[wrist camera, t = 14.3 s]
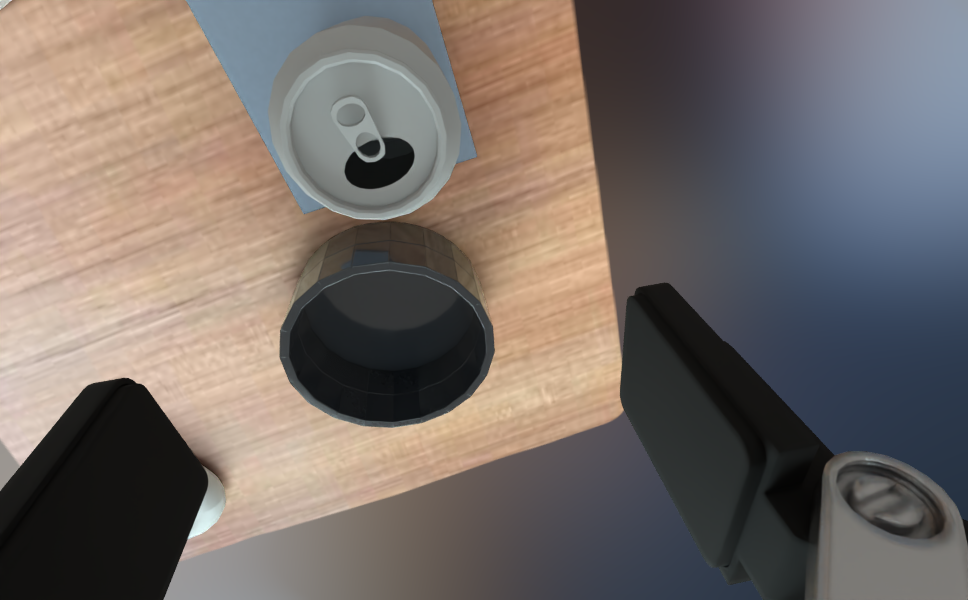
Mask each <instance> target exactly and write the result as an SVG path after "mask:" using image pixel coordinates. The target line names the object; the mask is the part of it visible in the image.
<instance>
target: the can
mask: <svg viewBox="0 0 968 600" xmlns="http://www.w3.org/2000/svg"><path fill="white" fill-rule="evenodd" d="M268 116H269V123H270V130H271V136H272V143H273V145H274V147H275V149H276V151H277V153H278V155H279V158H280V160H281V162H282V164H283V166H284V168H285V170H286V172H287V173H288V174H289V175H290V176H291V177H292V179H293V180H294V181H295V182H296V183H297V184H298V185H299V187H300V188H301V189H302V190H303V191H304V192H305V193H306V194H307V195H308V196H310V197H311V198H313V199H314V200H316V201H317V202H319V203H320V204H322V205H324V206H325V207H327V208H328V209H330V210H331V211H333V212H337V213H340V214H343V215H346V216H349V217H352V218H355V219H372V220H387V219H391V218H394V217H398V216H402V215H405V214H409V213H412V212H413V211H415V210H416V209H418V208H419V207H421V206H423V205H424V204H426V203H427V202H429V201H430V200H432V199H433V198H434V197H435V196H436V194H437V193H438V192H439V191H440V190H441V188H442V187H443V186H444V185H445V183H446V182H447V181H448V180H449V179H450V176H451V173H452V171H453V168H454V166H455V163H456V161H457V158H458V156H459V152H460V137H461V121H460V116H459V112H458V108H457V104H456V100H455V96H454V93H453V91H452V89H451V87H450V85H449V83H448V82H447V80H446V78H445V76H444V74H443V72H442V70H441V68H440V67H439V65H438V63H437V61H436V60H435V58H434V56H433V54H432V53H431V51H430V49H429V48H428V46H427V44H426V43H425V42H424V41H422V40H421V39H420V38H419V37H418V36H417V35H416V34H415V33H414V32H413V31H412V30H411V29H410V28H408V27H406V26H404V25H402V24H399V23H397V22H395V21H393V20H391V19H389V18H382V17H373V16H362V17H359V18H355V19H351V20H347V21H344V22H341V23H339V24H337V25H334V26H332V27H329V28H327V29H325V30H322V31H320V32H318V33H316V34H314V35H313V36H312V37H310V38H309V39H308V40H306V41H305V42H304V43H302V44H301V45H300V46H298V47H297V48H296V49H294V50H293V51H292V52H290V54H289V55H288V57H287V59H286V60H285V62H284V64H283V65H282V67H281V68H280V70H279V72H278V73H277V75H276V77H275V78H274V80H273V86H272V91H271V97H270V102H269V108H268Z"/></svg>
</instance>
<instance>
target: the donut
mask: <svg viewBox="0 0 968 600" xmlns="http://www.w3.org/2000/svg"><path fill="white" fill-rule="evenodd" d="M203 467H204V466H203ZM204 469H205V470H206V472H207V475H208V488H207V492H206V494H205V497H204V499H203V502H202V504H201V507H200V509H199V512H198V514H197V517H196V519H195V522H194V524H193V527H192V529H191V532H190V534H189V537H188V539H190V538H192V537H194V536H197V535H199V534H201V533H204V532H205V531H206V530H207V529H209V528H210V527H211V526H212V525H213V524H215V523H216V522H217V521H218V519H219V517H220V515H221V513H222V511H223V509H224V507H225V503H226V498H225V490H224V486H223V485H222V483H221V482H220V480H219V479H218V477H217V476H216V475H215V474H214V473H212V472H211V471H210V470H208V469H207V468H206V467H204Z"/></svg>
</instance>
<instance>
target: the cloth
mask: <svg viewBox="0 0 968 600" xmlns="http://www.w3.org/2000/svg"><path fill="white" fill-rule="evenodd" d="M186 1H187V3H188V5H189V7H190V8H191V10H192V12H193V14H194V16H195V18H196V19H197V21H198V23H199V25H200V27H201V28H202V30H203V32H204V34H205V36H206V38H207V39H208V41H209V43H210V45H211V47H212V48H213V50H214V52H215V54H216V56H217V57H218V59H219V61H220V63H221V65H222V67H223V68H224V70H225V72H226V74H227V76H228V77H229V79H230V81H231V83H232V85H233V87H234V88H235V90H236V92H237V94H238V96H239V97H240V99H241V101H242V103H243V105H244V106H245V108H246V110H247V112H248V114H249V116H250V117H251V119H252V121H253V123H254V125H255V126H256V128H257V130H258V132H259V134H260V136H261V137H262V139H263V141H264V143H265V145H266V146H267V148H268V150H269V152H270V154H271V155H272V157H273V159H274V161H275V163H276V165H277V166H278V168H279V170H280V172H281V174H282V175H283V177H284V179H285V181H286V183H287V185H288V186H289V188H290V190H291V192H292V194H293V195H294V197H295V199H296V201H297V203H298V204H299V206H300V208H301V210H302V212H303V214H306V213H309V212H312V211H315V210H318V209H321V208H324V207H325V206H324V205H322V204H320V203H319V202H317V201H316V200H314V199H313V198H311V197H310V196H308V195H307V194H306V193H305V192H304V191H303V190H302V189H301V188H300V187H299V185H298V184H297V183H296V182H295V181H294V180H293V179H292V177H291V176H290V175H289V174H288V173H287V172H286V170H285V168H284V166H283V164H282V162H281V160H280V158H279V155H278V153H277V151H276V149H275V147H274V145H273V143H272V136H271V130H270V123H269V116H268V108H269V102H270V97H271V91H272V86H273V80H274V78H275V77H276V75H277V73H278V72H279V70H280V68H281V67H282V65H283V64H284V62H285V60H286V59H287V57H288V55H289V54H290V52H292V51H293V50H294V49H296V48H297V47H298V46H300V45H301V44H302V43H304V42H305V41H306V40H308V39H309V38H310V37H312V36H313V35H314V34H316V33H318V32H320V31H322V30H325V29H327V28H329V27H332V26H334V25H337V24H339V23H341V22H344V21H347V20H351V19H355V18H359V17H362V16H373V17H382V18H389V19H391V20H393V21H395V22H397V23H399V24H402V25H404V26H406V27H408V28H410V29H411V30H412V31H413V32H414V33H415V34H416V35H417V36H418V37H419V38H420V39H421V40H422V41H424V42H425V43H426V44H427V46H428V48H429V49H430V51H431V53H432V54H433V56H434V58H435V60H436V61H437V63H438V65H439V67H440V68H441V70H442V72H443V74H444V76H445V78H446V80H447V82H448V83H449V85H450V87H451V89H452V91H453V93H454V96H455V100H456V104H457V108H458V112H459V116H460V121H461V137H460V152H459V156H458V158H457V161H456V163H455V164H457V163H460V162H463V161H466V160H469V159H472V158H475V157H477V154H476V150H475V147H474V143H473V140H472V137H471V133H470V130H469V126H468V123H467V119H466V116H465V113H464V109H463V106H462V102H461V99H460V95H459V92H458V88H457V85H456V82H455V78H454V75H453V71H452V68H451V64H450V61H449V57H448V54H447V51H446V47H445V44H444V40H443V37H442V33H441V30H440V26H439V23H438V20H437V16H436V13H435V9H434V6H433V2H432V0H186Z"/></svg>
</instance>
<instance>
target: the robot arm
mask: <svg viewBox="0 0 968 600" xmlns="http://www.w3.org/2000/svg"><path fill="white" fill-rule="evenodd" d="M11 1H12V0H0V10H1V9H2V8H3V7H5V6H6V5H7V4H8V3H9V2H11ZM620 398H621V403H622V406H623V408H624V411H625V412H626V414H627V416H628V418H629V420H630V422H631V424H632V426H633V427H634V429H635V431H636V433H637V435H638V437H639V439H640V440H641V442H642V444H643V446H644V448H645V450H646V451H647V454H648V455H649V457H650V459H651V461H652V463H653V465H654V467H655V468H656V470H657V472H658V474H659V476H660V478H661V480H662V481H663V483H664V485H665V487H666V489H667V491H668V493H669V495H670V496H671V498H672V500H673V502H674V504H675V506H676V508H677V509H678V511H679V513H680V515H681V517H682V519H683V521H684V523H685V524H686V526H687V528H688V530H689V532H690V534H691V536H692V538H693V539H694V541H695V543H696V545H697V547H698V549H699V550H700V552H701V554H702V556H703V558H704V559H705V561H706V562H707V563H708V565H709V566H710V567H712V568H716V567H719V569H720V571H721V573H722V575H723V576H724V578H725V580H726V582H727V584H728V585H732V584H736V583H741V582H746V581H750V580H752V582H753V584H754V585H755V587H756V589H757V590H758V592H759V594H760V595H761V597H762V599H763V600H968V521H966V520H964V519H962V518H961V516H960V514H959V511H958V509H957V507H956V505H955V503H954V502H953V501H952V500H951V499H950V497H949V496H948V495H947V494H946V492H945V491H944V490H943V489H942V488H941V487H940V486H938V485H937V484H936V483H935V482H934V481H932V480H931V479H930V478H929V477H927V476H926V475H925V474H923V473H921V472H920V471H918V470H916V469H915V468H913V467H911V466H909V465H908V464H906V463H903V462H901V461H898V460H896V459H893V458H891V457H888V456H886V455H881V454H876V453H871V452H867V451H848V452H845V453H841V454H838V455H834V454H833V453H832V452H831V451H830V450H829V449H828V448H827V447H826V446H825V445H824V444H823V443H822V442H821V441H820V439H819V438H818V437H817V436H816V435H815V434H814V433H813V432H812V431H811V430H810V429H809V428H808V427H807V426H806V425H805V424H804V422H803V421H802V420H801V419H800V418H799V417H798V416H797V415H796V414H795V413H794V412H793V411H792V410H791V409H790V408H789V407H788V406H787V404H786V403H785V402H784V401H783V400H782V399H781V398H780V397H779V396H778V395H777V394H776V393H775V392H774V391H773V390H772V389H771V387H770V386H769V385H768V384H767V383H766V382H765V381H764V380H763V379H762V378H761V377H760V376H759V375H758V374H757V373H756V372H755V371H754V369H752V367H751V366H750V365H749V364H748V363H747V362H746V361H745V360H744V359H743V358H742V357H741V356H740V355H739V354H738V353H737V352H736V350H735V349H734V348H733V347H732V346H730V345H729V344H728V343H726V342H725V341H723V340H722V339H721V338H720V337H719V336H718V335H717V334H716V333H715V332H714V331H713V330H712V328H711V327H710V326H709V325H708V324H707V323H706V322H705V321H704V320H703V319H702V318H701V317H700V316H699V315H698V313H697V312H696V311H695V310H694V309H693V308H692V307H691V306H690V305H689V304H688V303H687V302H686V301H685V300H684V299H683V297H682V296H681V295H680V294H679V293H678V292H677V291H676V290H675V289H674V288H673V287H672V286H671V285H670V284H669V283H660V284H654V285H648V286H643V287H639V288H637V289H636V291H635V295H634V296H630V297H629V298H628V299H627V306H626V320H625V332H624V345H623V358H622V371H621V385H620ZM207 488H208V475H207V472H206V470H205V469H204V467H203V466H202V465H201V463H200V462H199V461H198V459H197V458H196V456H195V455H194V454H193V452H192V451H191V449H190V448H189V447H188V445H187V444H186V442H185V441H184V440H183V438H182V437H181V436H180V434H179V433H178V431H177V430H176V429H175V427H174V426H173V424H172V423H171V422H170V420H169V419H168V417H167V416H166V415H165V413H164V412H163V411H162V409H161V408H160V406H159V405H158V404H157V402H156V401H155V399H154V398H153V397H152V395H151V394H150V392H149V391H148V390H147V388H146V387H145V386H144V385H142V384H137V383H136V382H135V381H133V380H131V379H129V378H120V379H115V380H109V381H103V382H98V383H93V384H90V385H88V386H87V387H86V388H85V389H83V391H82V392H81V393H80V394H79V395H78V397H77V398H76V399H75V400H74V402H73V403H72V404H71V405H70V406H69V408H68V409H67V410H66V411H65V413H64V414H63V415H62V416H61V417H60V419H59V420H58V421H57V422H56V424H55V425H54V426H53V427H52V428H51V430H50V431H49V432H48V433H47V435H46V436H45V437H44V438H43V440H42V441H41V442H40V443H39V444H38V446H37V447H36V448H35V449H34V451H33V452H32V453H31V454H30V455H29V457H28V458H27V459H26V460H25V462H24V463H23V464H22V465H21V466H20V468H19V469H18V470H17V471H16V473H15V474H14V475H13V476H12V477H11V479H10V480H9V481H8V482H7V484H6V485H5V486H4V487H3V488H2V490H1V491H0V600H163V599H164V597H165V594H166V592H167V589H168V587H169V584H170V582H171V579H172V577H173V574H174V572H175V569H176V567H177V564H178V562H179V559H180V557H181V554H182V552H183V549H184V547H185V544H186V542H187V539H188V537H189V534H190V532H191V529H192V527H193V524H194V522H195V519H196V517H197V514H198V512H199V509H200V507H201V504H202V502H203V499H204V497H205V494H206V492H207Z"/></svg>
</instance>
